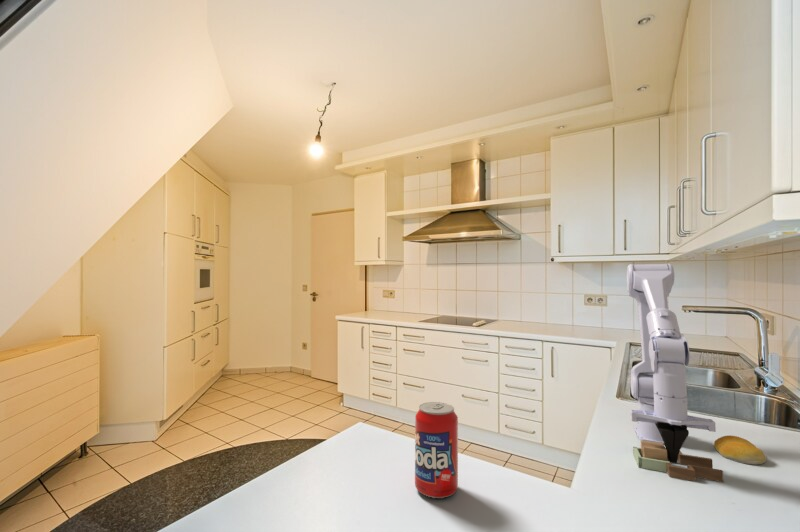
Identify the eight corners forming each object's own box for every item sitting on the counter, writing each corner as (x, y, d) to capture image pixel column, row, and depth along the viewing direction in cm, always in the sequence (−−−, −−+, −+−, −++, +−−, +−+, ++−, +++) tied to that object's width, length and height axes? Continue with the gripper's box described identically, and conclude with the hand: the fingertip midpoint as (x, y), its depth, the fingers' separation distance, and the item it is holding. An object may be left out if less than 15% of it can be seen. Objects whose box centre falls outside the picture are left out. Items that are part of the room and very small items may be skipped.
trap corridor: (631, 452, 85) (631, 443, 85) (708, 464, 79) (707, 454, 79) (640, 471, 76) (640, 461, 76) (727, 486, 70) (726, 476, 70)
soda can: (464, 486, 69) (464, 404, 70) (447, 507, 63) (447, 416, 64) (426, 475, 73) (427, 398, 74) (407, 494, 67) (407, 408, 68)
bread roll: (726, 462, 81) (725, 444, 81) (709, 446, 89) (709, 429, 89) (775, 469, 78) (774, 450, 78) (753, 452, 86) (753, 434, 86)
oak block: (641, 459, 82) (640, 440, 82) (663, 462, 80) (662, 443, 80) (644, 466, 78) (643, 447, 78) (667, 470, 76) (666, 450, 77)
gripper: (633, 395, 78) (635, 461, 77) (720, 404, 72) (723, 476, 71) (627, 387, 84) (629, 448, 83) (707, 394, 79) (710, 461, 78)
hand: (672, 460), depth 78 cm, fingers closed
